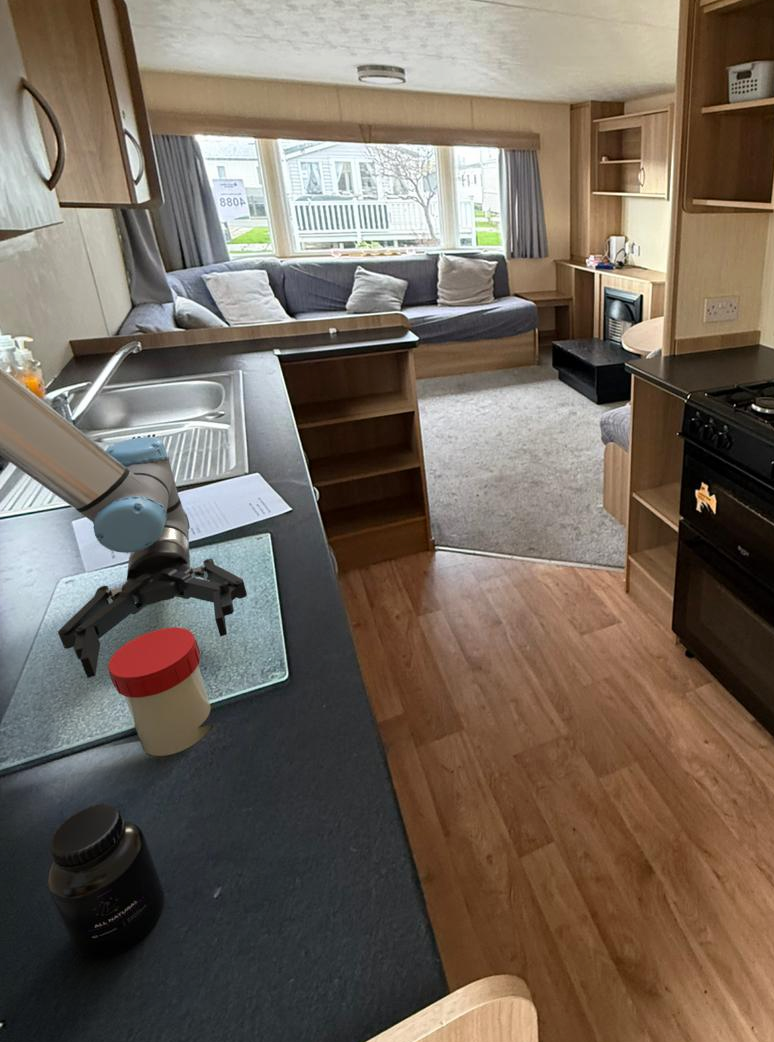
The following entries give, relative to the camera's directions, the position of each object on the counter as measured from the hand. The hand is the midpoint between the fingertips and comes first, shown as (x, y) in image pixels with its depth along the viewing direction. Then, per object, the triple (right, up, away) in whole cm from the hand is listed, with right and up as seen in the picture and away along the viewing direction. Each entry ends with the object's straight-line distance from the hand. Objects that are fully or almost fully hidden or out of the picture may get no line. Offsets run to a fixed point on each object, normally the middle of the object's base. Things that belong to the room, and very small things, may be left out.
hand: (157, 646), depth 78 cm
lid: (+2, 0, -3) cm, 4 cm away
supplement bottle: (+10, -19, -19) cm, 29 cm away
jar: (+2, -11, +1) cm, 11 cm away
